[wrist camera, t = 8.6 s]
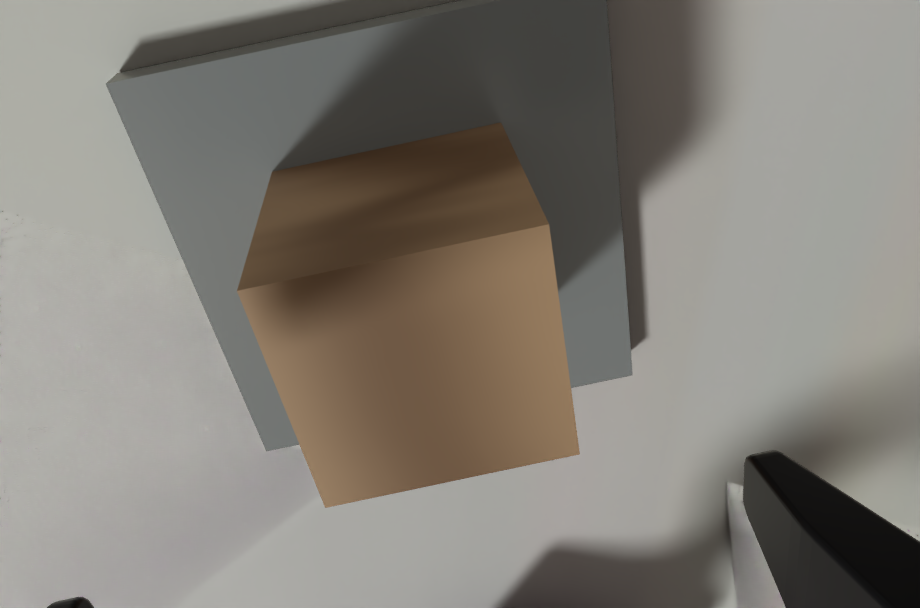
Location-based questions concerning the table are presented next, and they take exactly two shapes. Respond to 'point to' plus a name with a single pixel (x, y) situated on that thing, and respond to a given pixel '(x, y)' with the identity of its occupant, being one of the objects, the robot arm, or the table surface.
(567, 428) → the walnut cube
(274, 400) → the slate coaster
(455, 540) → the table surface
